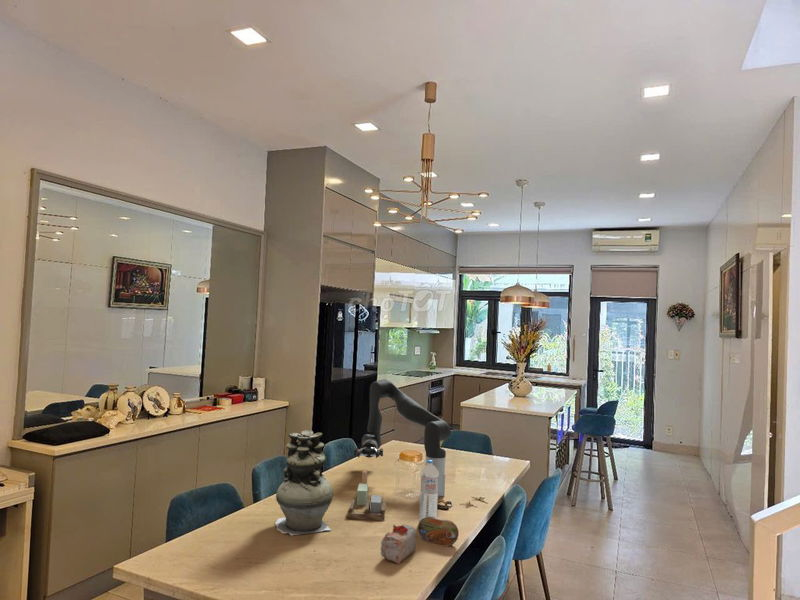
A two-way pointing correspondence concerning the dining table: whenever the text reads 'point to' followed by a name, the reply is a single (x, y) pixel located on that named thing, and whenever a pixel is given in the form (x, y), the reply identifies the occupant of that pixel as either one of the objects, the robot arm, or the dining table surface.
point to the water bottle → (428, 491)
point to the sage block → (362, 490)
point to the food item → (399, 543)
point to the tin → (438, 531)
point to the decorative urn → (304, 486)
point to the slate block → (375, 504)
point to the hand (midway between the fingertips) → (367, 455)
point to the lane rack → (366, 514)
